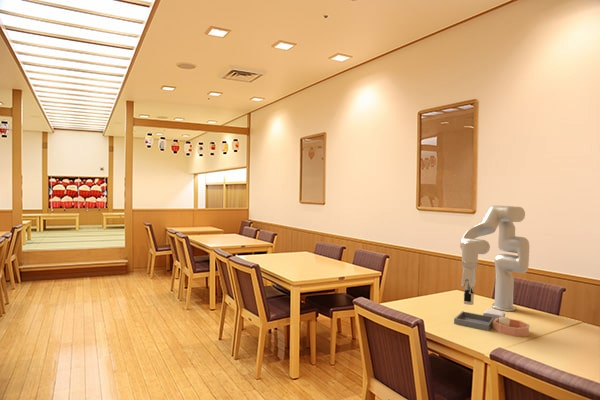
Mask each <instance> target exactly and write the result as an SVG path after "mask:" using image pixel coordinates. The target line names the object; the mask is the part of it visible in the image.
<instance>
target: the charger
mask: <svg viewBox="0 0 600 400" xmlns="http://www.w3.org/2000/svg"><path fill="white" fill-rule="evenodd" d="M482 315H484V316H490V317H495V318H499V317H506V311H505V312H504V311H503V310H498V309H490V308H487V309H486V310H485V311H484V312H483V314H482Z"/></svg>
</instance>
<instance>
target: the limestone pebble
mask: <svg viewBox="0 0 600 400" xmlns="http://www.w3.org/2000/svg"><path fill="white" fill-rule="evenodd" d="M510 319H511V318H509V317H508V316H505V317H499V324H501V325H504V326H509V325H510Z"/></svg>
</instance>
